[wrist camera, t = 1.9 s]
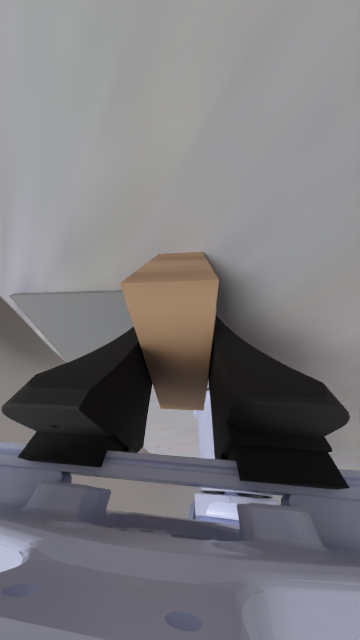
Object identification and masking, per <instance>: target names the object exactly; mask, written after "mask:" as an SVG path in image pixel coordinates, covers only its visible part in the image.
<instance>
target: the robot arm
mask: <svg viewBox="0 0 360 640" xmlns="http://www.w3.org/2000/svg"><path fill="white" fill-rule="evenodd" d="M208 380H209V390H207V391H206V400H205V404H204V411H201V410H194V418H197V433H198V458H194V457H181V456H169V455H157V454H145V453H144V454H143V453H137V452H138V451H139V450H140V449H141V448H142V447H143V444H144V436H145V428H146V421H147V414H148V407H149V401H150V395H151V389H152V380H151V377H150V374H149V371H148V368H147V365H146V362H145V359H144V355H143V352H142V349H141V346H140V343H139V340H138V337H137V334H136V331H135V328H134V327H132V328H131V329H130V330H128V331H127V332H125V333H124V334H123V335H121V336H119V337H118V338H116V339H115V340H113V341H111V342H110V343H108V344H106V345H104V346H102V347H100V348H98V349H96V350H95V351H92V352H90V353H88V354H86V355H84V356H82V357H80V358H77V359H75V360H73V361H70V362H68V363H66V364H63V365H60V366H58V367H55V368H53V369H50V370H47V371H45V372H42V373H39V374H36V375H35V376H34V377H33V378H32V379H31V380H30V381H29V382H28V383H27V384H26V385H24V386H23V387H22V388H21V389H20V390H19V391H18V392H17V393H16V394H15V395H14V396H13V397H12V398H11V399H10V400H8V401H7V402H6V403H5V404H4V405H3V406H2V412H3V414H4V415H6V416H7V417H8V418H10V419H12V420H14V421H16V422H18V423H20V424H22V425H24V426H27V427H29V428H31V429H33V430H35V431H37V432H36V433H35V435H34V436H33V437H32V439H31V440H30V441H29V443H28V444H22V443H10V442H0V640H360V471H353V470H341V469H338V468H337V466H336V465H335V463H334V462H333V460H332V458H331V457H330V455H329V453H328V452H332V448H331V446H330V445H329V443H328V442H327V440H326V439H325V437H324V436H326V435H328V434H330V433H332V432H334V431H335V430H337V429H339V428H341V427H343V426H344V425H345V424H347V422H348V420H349V417H350V416H349V413H348V411H347V410H346V409H345V408H344V407H343V405H342V404H341V403H340V402H339V401H338V400H337V399H336V397H335V396H334V395H333V394H332V393H331V392H330V390H329V389H328V388H327V387H326V386H325V385H324V384H323V383H322V382H320V381H318V380H316V379H313V378H311V377H309V376H307V375H305V374H303V373H300V372H298V371H296V370H294V369H292V368H290V367H288V366H286V365H284V364H282V363H280V362H278V361H276V360H274V359H273V358H271V357H269V356H267V355H266V354H264V353H262V352H261V351H259V350H257V349H256V348H254V347H252V346H251V345H249V344H248V343H247V342H245V341H244V340H242V339H241V338H240V337H238V336H237V335H236V334H235V333H233V332H232V331H231V330H230V329H229V328H228V327H227V326H226V325H225V324H224V323H223V322H222V321H221V320H220V319H219V318H218V317H217V316H216V318H215V326H214V334H213V342H212V350H211V359H210V367H209V375H208ZM70 474H74V475H84V476H95V477H104V478H115V479H125V480H134V481H144V482H155V483H164V484H175V485H184V486H194V487H200V492H204V493H209V494H200V493H195V500H193V501H192V503H191V504H190V507H189V509H188V511H187V513H186V517H185V518H178V517H170V516H160V515H152V514H143V513H132V512H123V511H113V510H106V508H107V504H108V501H109V497H110V494H111V491H110V490H108V489H102V488H96V487H91V486H87V485H79V484H72V483H71V478H72V477H71V475H70ZM272 494H273V495H283V497H282V499H281V505H278V503H277V501H276V500H268V499H269V498H273V495H272ZM260 498H264V499H260ZM266 498H268V499H266Z"/></svg>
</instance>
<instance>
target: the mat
mask: <svg viewBox="0 0 360 640" xmlns="http://www.w3.org/2000/svg"><path fill="white" fill-rule="evenodd" d="M9 296H10V298H11V299H12V300H13V301H14V302H15V303H16V304H17V306H18V307H19V308H20V309H21V310H22V311H23V312H24V313H25V315H26V316H27V317H28V318H29V319H30V320H31V321H32V323H33V324H34V325H35V326H36V327H37V328H38V329H39V331H40V332H41V333H42V334H43V335H44V336H45V337H46V339H47V340H48V341H49V342H50V343H51V344H52V345H53V347H54V348H55V349H56V350H57V351H58V352H59V353H60V355H61V356H62V357H63V358H64V359H65V360H66V361H67V363H68V362H70V361H73V360H75V359H77V358H80V357H82V356H84V355H86V354H88V353H90V352H92V351H95V350H96V349H98V348H100V347H102V346H104V345H106V344H108V343H110V342H111V341H113V340H115V339H116V338H118V337H119V336H121V335H123V334H124V333H125V332H127V331H128V330H130V329H131V328H132V327H134V325H133V322H132V319H131V316H130V313H129V310H128V307H127V304H126V301H125V298H124V294H123V291H122V290H120V291H87V292H55V293H22V294H12V295H9Z"/></svg>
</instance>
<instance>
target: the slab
mask: <svg viewBox="0 0 360 640" xmlns="http://www.w3.org/2000/svg"><path fill="white" fill-rule="evenodd" d="M120 285H121V288H122V291H123V294H124V298H125V301H126V304H127V307H128V310H129V313H130V316H131V319H132V322H133V325H134V328H135V331H136V334H137V337H138V340H139V343H140V346H141V349H142V352H143V355H144V359H145V362H146V365H147V368H148V371H149V374H150V377H151V380H152V383H153V386H154V389H155V392H156V395H157V398H158V401H159V404H160V407H161V408H162V409H182V410H201V411H204V404H205V400H206V391H207V383H208V375H209V367H210V359H211V350H212V342H213V334H214V326H215V318H216V309H217V308H216V302H217V294H218V285H219V279H218V277H217V275H216V274H215V272H214V270H213V269H212V267H211V265H210V264H209V262H208V260H207V258H206V257H205V255H204V253H203V252H190V253H172V254H158V255H157V256H156V257H154V258H153V259H152V260H150V261H149V262H148V263H146V264H145V265H144V266H142V267H141V268H140V269H138V270H137V271H136V272H134V273H133V274H132V275H130V276H129V277H128V278H126V279H125V280H124V281H122V282H121V283H120Z"/></svg>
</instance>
